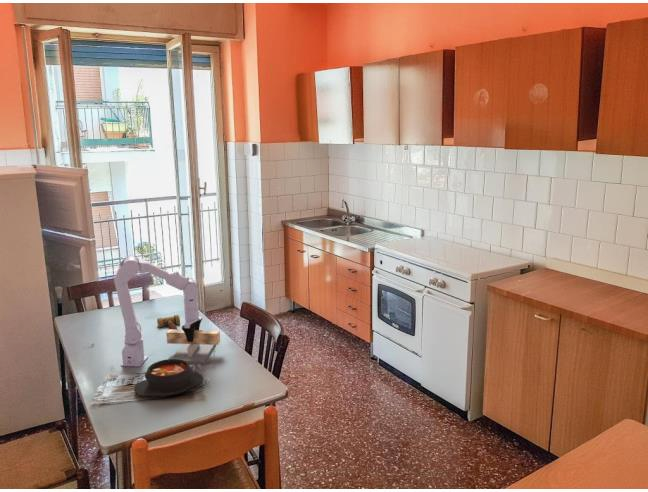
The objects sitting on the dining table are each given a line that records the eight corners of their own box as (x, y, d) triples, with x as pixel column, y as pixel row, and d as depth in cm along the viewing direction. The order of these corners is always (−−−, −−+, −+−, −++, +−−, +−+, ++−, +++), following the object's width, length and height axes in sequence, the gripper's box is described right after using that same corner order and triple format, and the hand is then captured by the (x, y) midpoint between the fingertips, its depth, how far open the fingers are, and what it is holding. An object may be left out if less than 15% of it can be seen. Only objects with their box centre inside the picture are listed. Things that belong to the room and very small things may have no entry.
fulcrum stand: (203, 363, 222) (203, 352, 220) (170, 362, 222) (169, 351, 221) (215, 344, 241) (215, 334, 240) (185, 343, 242) (184, 333, 241)
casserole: (196, 371, 215) (195, 351, 213) (209, 391, 199) (208, 370, 197) (131, 384, 204) (129, 364, 202) (138, 407, 188) (137, 384, 186)
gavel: (189, 329, 251) (168, 333, 246) (190, 338, 252) (168, 342, 247) (177, 313, 268) (156, 316, 263) (177, 321, 269) (157, 325, 264)
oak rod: (167, 343, 229) (166, 332, 228) (169, 340, 233) (169, 329, 232) (218, 344, 228) (217, 333, 227) (220, 341, 232) (219, 330, 231)
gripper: (195, 313, 220) (197, 345, 223) (205, 302, 234) (206, 331, 237) (178, 313, 220) (180, 344, 223) (189, 302, 234) (191, 331, 237)
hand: (193, 338), depth 230 cm, fingers open, 7 cm apart
